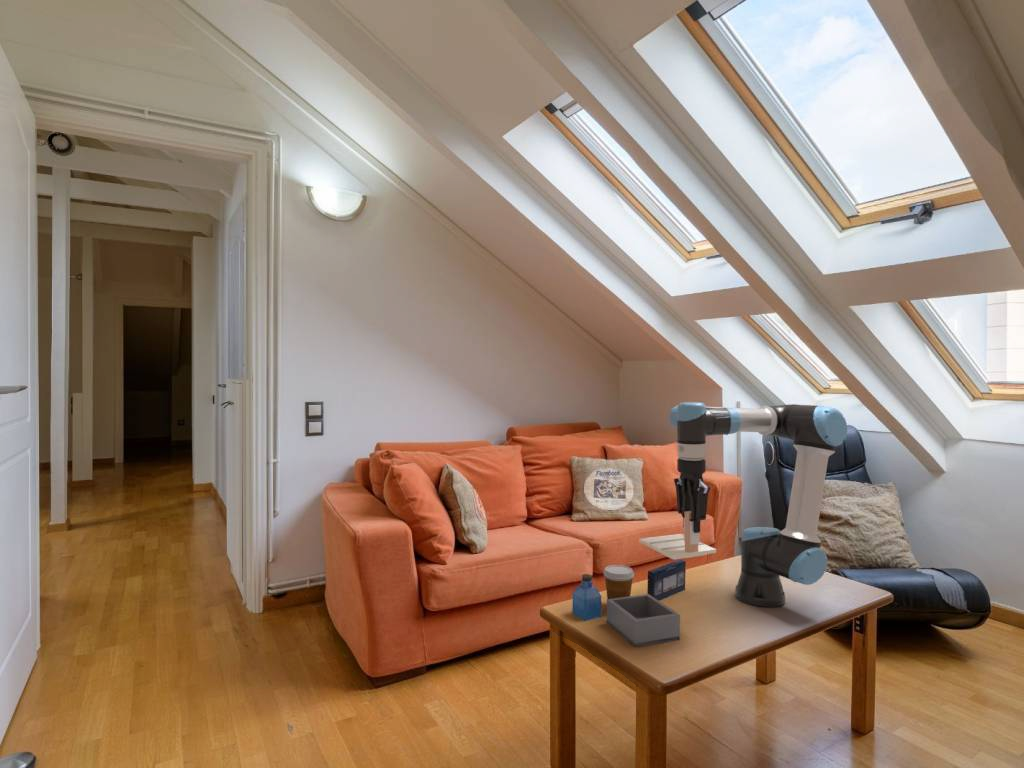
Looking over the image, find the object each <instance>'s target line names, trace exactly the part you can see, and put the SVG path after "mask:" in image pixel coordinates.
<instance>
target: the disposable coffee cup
mask: <svg viewBox="0 0 1024 768" xmlns="http://www.w3.org/2000/svg"><path fill="white" fill-rule="evenodd" d="M603 576H604V581H605V589H606V597H607V599H613V598H621V597H628V596H631V592H632V587H633V586H632V585H633V579H634V577H635V573H634V571H633V569H632V568H631V567H630V566H626V565H621V564H614V565H613V564H611V565H608V566H607V565H606V566H605V568H604V571H603ZM607 599H606V600H607Z"/></svg>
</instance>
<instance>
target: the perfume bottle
mask: <svg viewBox="0 0 1024 768" xmlns="http://www.w3.org/2000/svg"><path fill="white" fill-rule="evenodd" d="M581 577H582V578H581V584H580V585H577V586H576V587H575V589H574V590H573V591H572V608H571V609H572V613H571V614H573V613H574V614H575V615H574V614H573V615H574V616H576V615H577V616H576V617H577V618H579V617H580V618H579V619H580V620H582V619H583V620H582V621H584V620H585V621H584V622H586V620H587V621H589V620H594V619H598V618H602V595H601V593H600V592H599V589H598V588H597V587H596V586H594V585H593V584H594V579H593V575H592V574H588V573H584V574H582V575H581ZM597 617H598V618H597Z"/></svg>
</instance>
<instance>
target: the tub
mask: <svg viewBox="0 0 1024 768" xmlns="http://www.w3.org/2000/svg"><path fill="white" fill-rule="evenodd" d="M606 624H607V625H609V626H610V627H611V628H612V629H613V630H614V631H615V632H616V633H618V634H619V635H620V636H621V637H623V638H624V639H625V640H626V641H627V642H629V643H630V645H632V646H633V647H635V648H638V647H644V646H645V647H646V646H650V645H657V644H662V643H668V642H674V641H680V639H681V638H680V637H681V636H680V634H681V631H680V630H681V627H680V626H681V625H680V624H681V614H680V613H678V612H676V611H675V610H673V609H672V608H670V607H669V606H667V605H666V604H664V603H663V602H662V601H661V600H660V601H658V600H657V599H655V598H654V597H652V596H651V595H649V594H647V593H644V594H639V595H638V594H637V595H630V596H628V597H621V598H613V599H606Z"/></svg>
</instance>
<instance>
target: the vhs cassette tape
mask: <svg viewBox="0 0 1024 768" xmlns="http://www.w3.org/2000/svg"><path fill="white" fill-rule="evenodd" d="M686 561H687V560H683V559H677V560H674V561H673V562H670V563H667V564H665V565H661V566H659V567H655V568H653V569H651V570H648V571H647V591H646V592H647V593H646V594H649V595H651V596H652V597H654V598H655V599H657V600H658V601H659V600H660V601H661V600H664V598H665V599H666V598H669V596H670V597H672V596H674V595H676V593H677V594H679V593H682V592H684V591H685V590H686V571H687V570H686V567H687V564H686V563H687V562H686ZM683 590H684V591H683ZM678 592H679V593H678ZM673 594H674V595H673ZM671 595H672V596H671Z"/></svg>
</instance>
